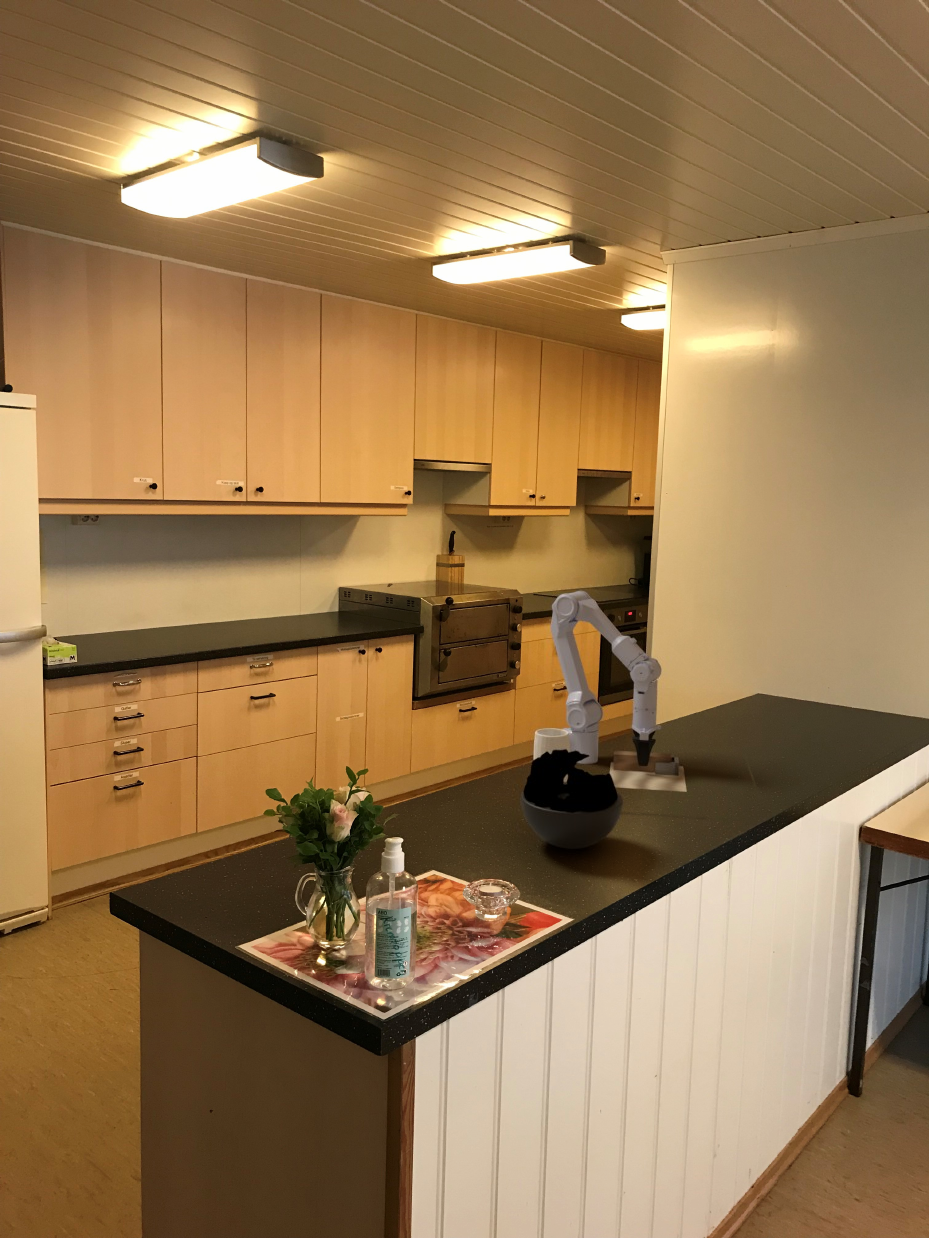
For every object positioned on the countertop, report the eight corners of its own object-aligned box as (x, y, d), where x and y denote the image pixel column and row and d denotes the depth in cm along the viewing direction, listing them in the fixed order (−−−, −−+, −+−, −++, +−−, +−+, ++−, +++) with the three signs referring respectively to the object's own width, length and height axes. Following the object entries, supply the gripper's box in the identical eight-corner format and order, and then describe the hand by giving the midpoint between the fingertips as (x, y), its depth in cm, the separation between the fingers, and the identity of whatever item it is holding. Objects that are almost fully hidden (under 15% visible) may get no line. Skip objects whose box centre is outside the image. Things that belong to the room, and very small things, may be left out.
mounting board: (607, 789, 230) (608, 786, 230) (610, 765, 251) (610, 762, 251) (686, 794, 227) (686, 791, 227) (683, 769, 248) (683, 766, 248)
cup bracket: (655, 774, 241) (655, 762, 240) (654, 766, 247) (655, 754, 247) (678, 775, 240) (679, 763, 239) (677, 767, 246) (678, 756, 246)
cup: (567, 798, 224) (568, 737, 222) (530, 795, 225) (531, 735, 224) (570, 787, 232) (572, 728, 230) (535, 785, 234) (536, 726, 232)
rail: (613, 769, 244) (613, 754, 244) (613, 766, 247) (614, 750, 247) (671, 773, 242) (671, 757, 241) (670, 769, 245) (671, 753, 244)
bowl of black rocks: (556, 821, 208) (558, 735, 206) (640, 843, 196) (643, 751, 193) (499, 847, 193) (500, 754, 190) (586, 873, 180) (588, 774, 178)
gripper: (661, 715, 235) (659, 770, 236) (660, 702, 249) (659, 754, 251) (632, 713, 236) (630, 768, 238) (632, 701, 250) (630, 752, 252)
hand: (643, 761), depth 244 cm, fingers open, 7 cm apart
